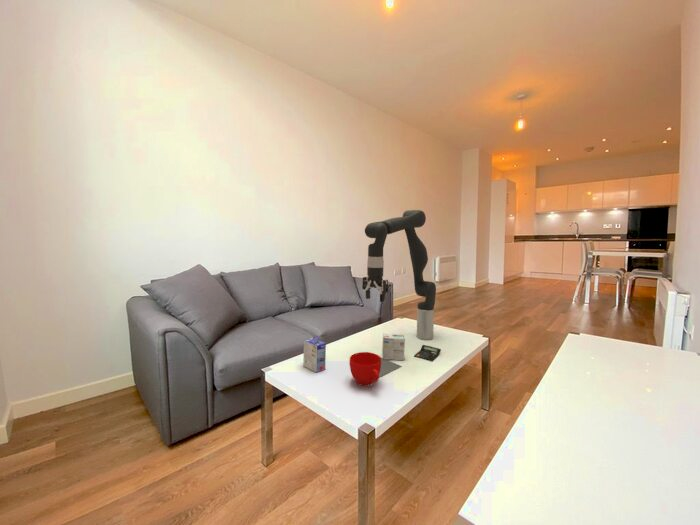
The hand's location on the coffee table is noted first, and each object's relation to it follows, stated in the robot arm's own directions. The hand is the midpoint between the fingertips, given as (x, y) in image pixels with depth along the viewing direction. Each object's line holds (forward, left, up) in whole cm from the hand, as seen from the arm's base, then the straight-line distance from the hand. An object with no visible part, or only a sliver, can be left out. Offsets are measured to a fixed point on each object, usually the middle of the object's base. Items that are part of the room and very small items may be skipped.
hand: (374, 300), depth 139 cm
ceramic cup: (+19, +14, -29) cm, 38 cm away
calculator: (-24, +15, -30) cm, 41 cm away
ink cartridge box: (+26, -12, -29) cm, 41 cm away
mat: (+4, +5, -29) cm, 30 cm away
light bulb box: (-9, +5, -29) cm, 31 cm away
